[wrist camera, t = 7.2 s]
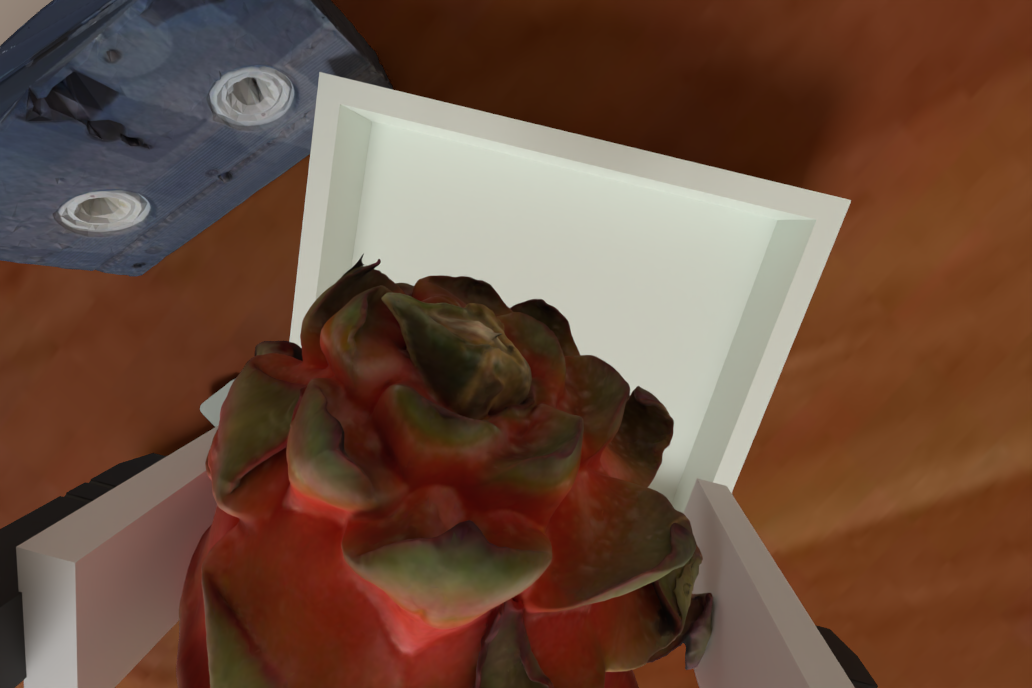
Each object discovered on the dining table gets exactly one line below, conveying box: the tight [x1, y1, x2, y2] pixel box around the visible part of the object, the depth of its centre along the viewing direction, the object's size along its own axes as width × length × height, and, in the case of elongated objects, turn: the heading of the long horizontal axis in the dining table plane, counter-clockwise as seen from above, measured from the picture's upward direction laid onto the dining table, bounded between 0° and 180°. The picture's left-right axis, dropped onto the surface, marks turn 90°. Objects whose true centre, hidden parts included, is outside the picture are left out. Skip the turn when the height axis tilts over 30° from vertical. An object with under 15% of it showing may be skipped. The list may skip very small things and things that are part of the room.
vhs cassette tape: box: [0, 0, 393, 276], centre depth 20 cm, size 18×3×10 cm, turn 119°
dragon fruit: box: [176, 254, 713, 688], centre depth 9 cm, size 8×8×12 cm
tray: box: [290, 72, 851, 514], centre depth 24 cm, size 22×20×4 cm
